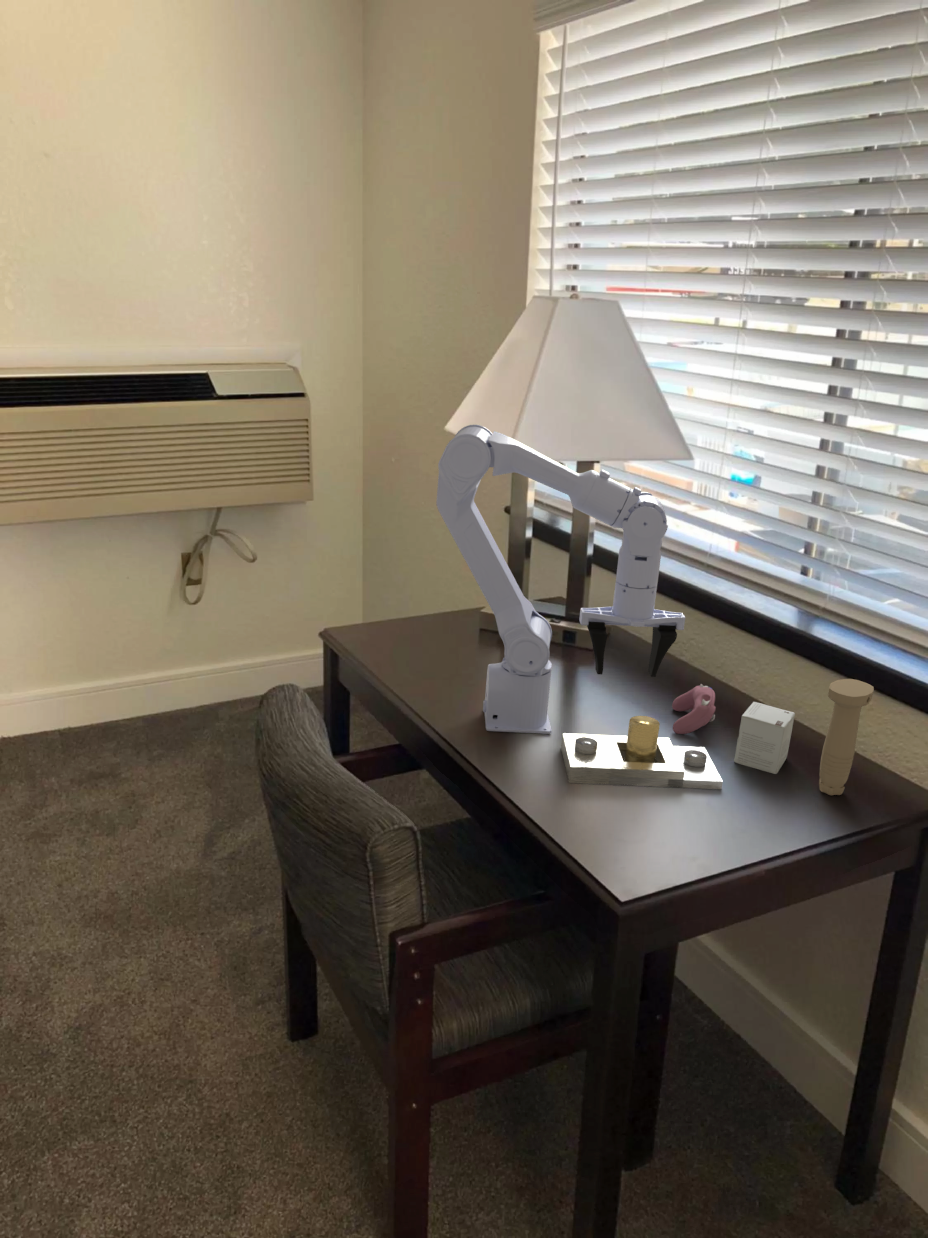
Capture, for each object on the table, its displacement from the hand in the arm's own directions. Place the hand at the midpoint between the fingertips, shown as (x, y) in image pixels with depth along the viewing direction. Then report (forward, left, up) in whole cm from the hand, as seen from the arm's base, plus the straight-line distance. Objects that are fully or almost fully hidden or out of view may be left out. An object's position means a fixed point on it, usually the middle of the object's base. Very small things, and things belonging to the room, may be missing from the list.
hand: (625, 673), depth 142 cm
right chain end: (+4, -11, -9) cm, 15 cm away
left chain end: (-2, -11, -9) cm, 15 cm away
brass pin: (+1, -11, -9) cm, 15 cm away
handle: (+26, -15, -10) cm, 32 cm away
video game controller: (+12, +4, -10) cm, 16 cm away
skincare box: (+19, -7, -10) cm, 22 cm away
